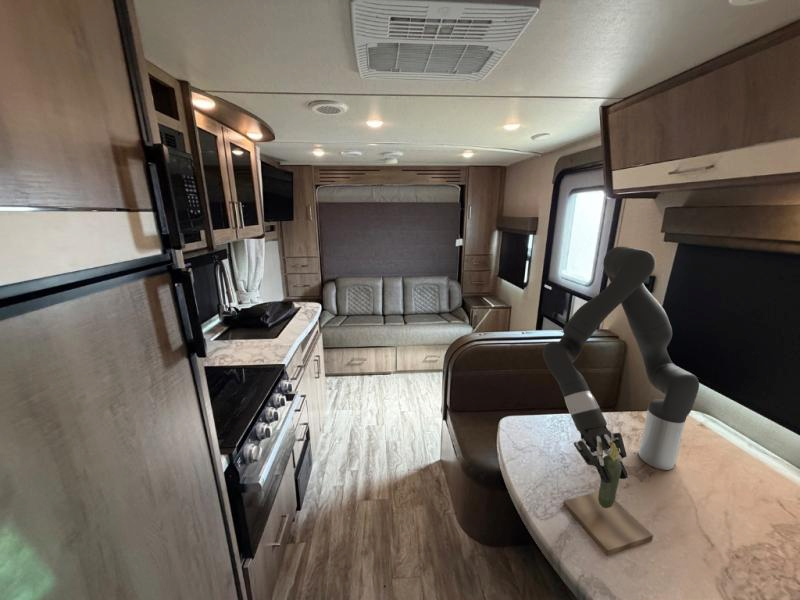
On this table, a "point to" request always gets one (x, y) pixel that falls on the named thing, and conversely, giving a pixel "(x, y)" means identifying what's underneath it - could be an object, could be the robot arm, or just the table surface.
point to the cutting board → (607, 523)
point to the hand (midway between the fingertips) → (616, 480)
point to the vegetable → (614, 469)
